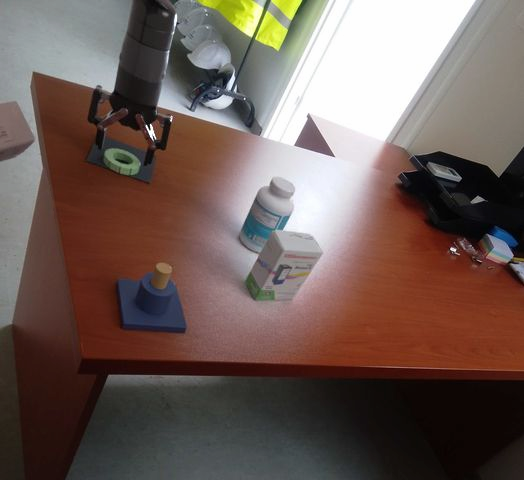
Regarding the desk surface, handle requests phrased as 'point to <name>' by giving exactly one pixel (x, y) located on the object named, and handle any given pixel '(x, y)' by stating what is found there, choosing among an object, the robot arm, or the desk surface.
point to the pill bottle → (268, 213)
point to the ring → (119, 167)
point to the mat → (109, 143)
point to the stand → (151, 302)
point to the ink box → (283, 265)
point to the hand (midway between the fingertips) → (123, 156)
